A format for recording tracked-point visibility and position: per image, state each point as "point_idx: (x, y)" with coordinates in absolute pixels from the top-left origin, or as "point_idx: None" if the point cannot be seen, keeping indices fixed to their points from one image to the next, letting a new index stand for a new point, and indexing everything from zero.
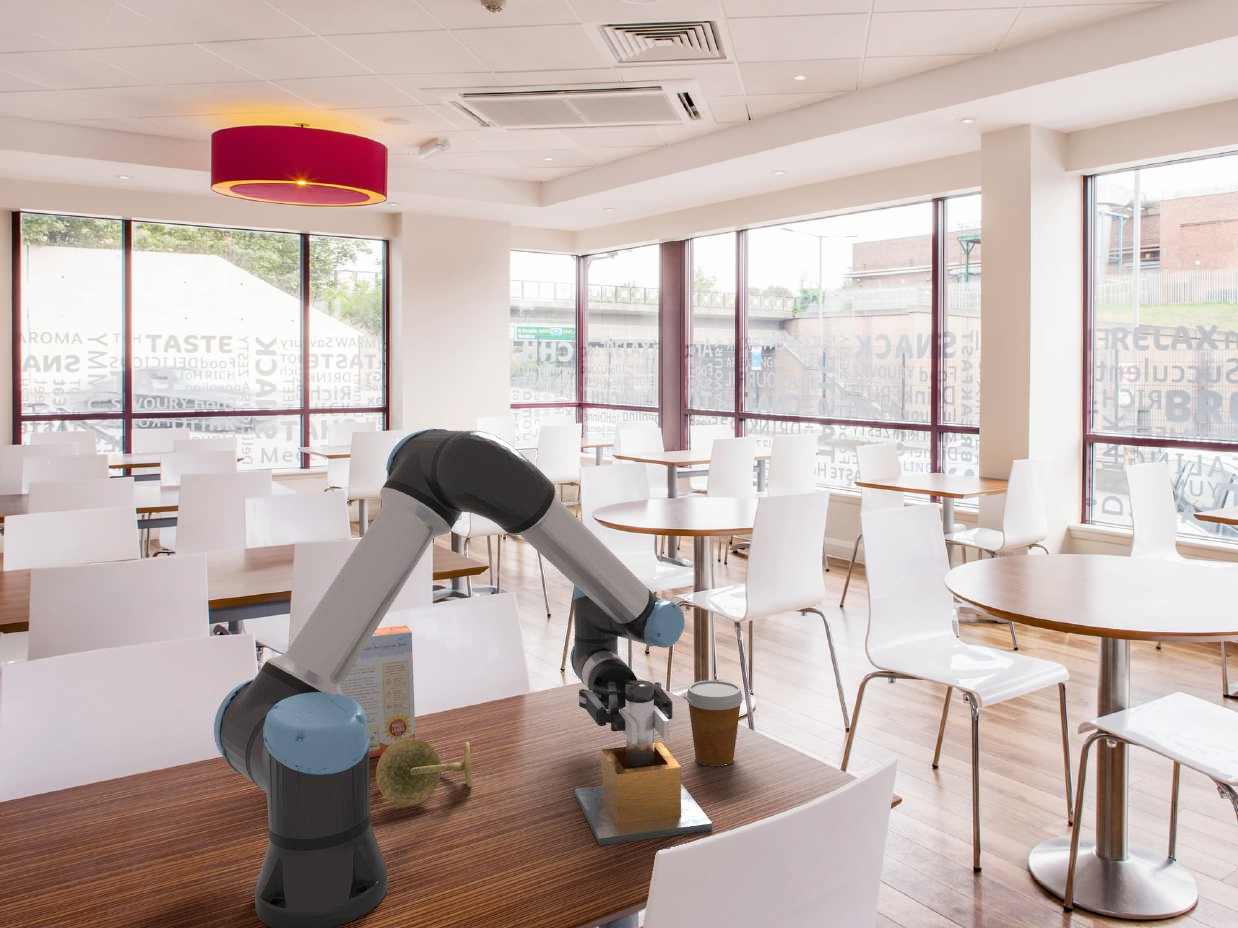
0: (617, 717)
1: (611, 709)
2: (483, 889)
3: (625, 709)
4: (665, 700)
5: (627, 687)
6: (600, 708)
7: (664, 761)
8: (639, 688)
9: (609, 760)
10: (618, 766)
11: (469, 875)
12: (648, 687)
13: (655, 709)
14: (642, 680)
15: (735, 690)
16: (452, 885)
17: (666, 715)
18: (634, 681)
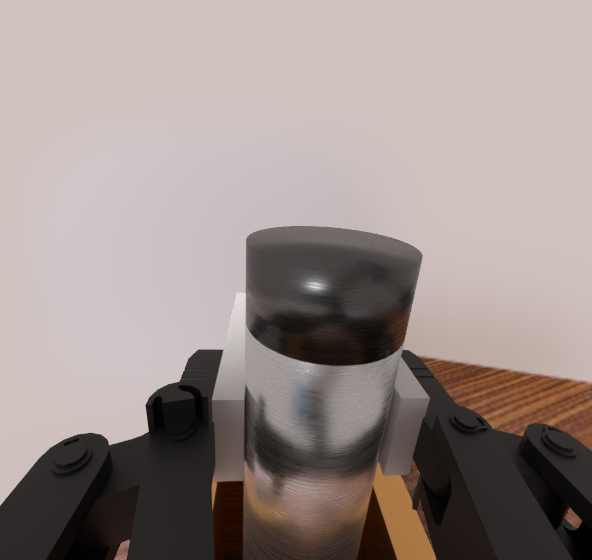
0: (423, 379)
1: (481, 419)
2: (525, 406)
3: (394, 387)
4: (61, 497)
5: (400, 243)
6: (560, 435)
7: (214, 509)
8: (337, 229)
9: (424, 541)
10: (382, 477)
11: (574, 437)
12: (290, 228)
13: (240, 357)
14: (300, 263)
15: None
16: (577, 420)
17: (201, 356)
18: (364, 264)
